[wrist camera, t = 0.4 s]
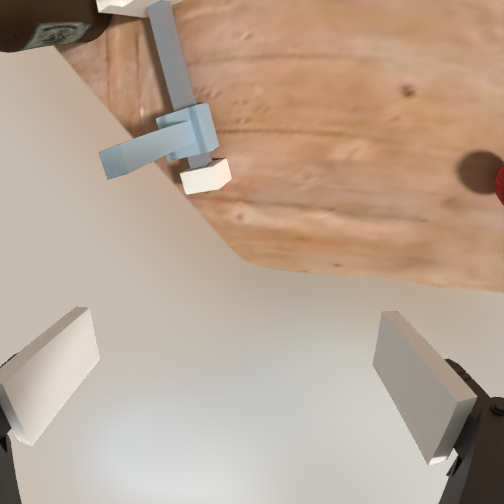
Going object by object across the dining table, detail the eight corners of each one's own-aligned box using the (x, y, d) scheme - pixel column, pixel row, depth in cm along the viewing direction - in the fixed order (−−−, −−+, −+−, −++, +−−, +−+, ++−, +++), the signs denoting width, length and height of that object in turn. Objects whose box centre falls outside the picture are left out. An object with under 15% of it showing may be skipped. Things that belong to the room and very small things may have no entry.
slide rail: (139, -8, 32) (93, -18, 24) (186, -31, 29) (143, -50, 21) (192, 185, 46) (154, 212, 38) (241, 176, 43) (211, 203, 35)
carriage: (170, 114, 40) (82, 141, 26) (211, 101, 37) (128, 121, 24) (181, 155, 42) (101, 198, 29) (222, 145, 40) (148, 186, 26)
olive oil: (68, 8, 35) (-56, 18, 15) (110, -24, 31) (-25, -34, 11) (77, 55, 40) (-53, 80, 19) (121, 26, 36) (-26, 33, 15)
